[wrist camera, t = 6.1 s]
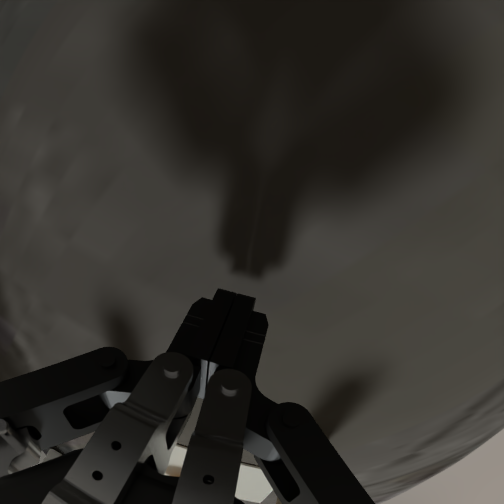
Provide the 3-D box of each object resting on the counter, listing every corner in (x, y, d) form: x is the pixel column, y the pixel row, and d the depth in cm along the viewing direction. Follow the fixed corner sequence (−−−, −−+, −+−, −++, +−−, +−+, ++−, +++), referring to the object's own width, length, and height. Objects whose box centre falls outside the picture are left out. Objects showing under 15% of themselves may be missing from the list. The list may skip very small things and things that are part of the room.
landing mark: (141, 430, 25) (140, 432, 25) (288, 472, 24) (287, 474, 23) (155, 472, 32) (154, 473, 32) (260, 501, 31) (260, 503, 31)
